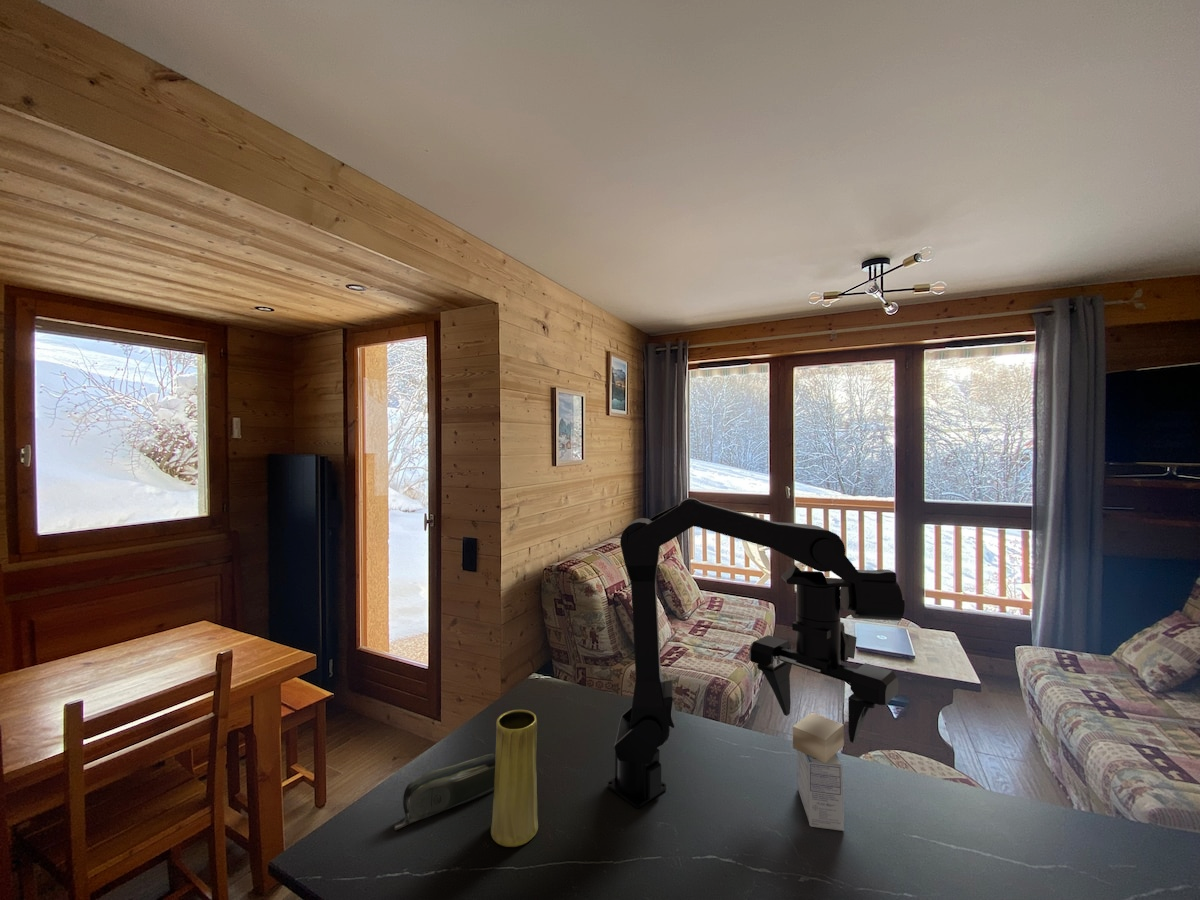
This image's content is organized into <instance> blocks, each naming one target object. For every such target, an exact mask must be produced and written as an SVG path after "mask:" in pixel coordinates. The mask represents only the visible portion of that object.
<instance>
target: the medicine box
mask: <svg viewBox="0 0 1200 900" xmlns="http://www.w3.org/2000/svg"><path fill="white" fill-rule="evenodd" d="M796 753H797V754H796V761H797V762H796V763H797V764H796V767H797V768H796V770H797V772H796V773H797V774H796V777H797V778H796V779H797V781H796V782H797V791H798V793H799V797H800V799H801V802H802V805H803V809H804V811H805V814H806V818H807V821H808V825H809V827H812V828H817V829H825V830H832V831H839V832H843V831H845V820H844V819H845V818H844V816H845V815H844V811H845V810H844V780H843V779H844V776H843V764H842V763H841V761H840V759H839V757H838V754H837V753H836V754H835V755H834V756H833V757H831V758H830V759H829V760H828V761H827V762H826V763H824V762H822V761H820V760H818V759H816V758H813V757H811V756H809V755H807V754H805V753H803V752H800V751H798V750H796Z"/></svg>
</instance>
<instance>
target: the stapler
mask: <svg viewBox="0 0 1200 900" xmlns="http://www.w3.org/2000/svg"><path fill="white" fill-rule="evenodd" d="M495 757H496V752H491V753H488V754H484V755H481V756H479V757H475V758H472V759H468V760H466V761H463V762H460V763H457V764H454V765H449V766H446V767H442V768H439V769H434V770H432V771H429V772H426V773H424V774H422V775H421V776H420V777H418V778H416V779H415V780H412V781H410V783H409V784H407V786H406V788H405V789H404V792H403V798H402V805H403V806H402V809H403V811H404V815H405V816H404V819H403V820H402V821H400V822H398V823H395V824H394V825H393V827H394V831H397V830H400V829H401V828H403V827H406V826H409V825H411V824H413V823H415V822H418V821H420V820H424V819H426V818H429V817H431V816H434V815H436V814H439V813H441V812H444V811H447V810H449V809H452V808H454V807H456V806H461V805H464V804H466V803H468V802H471V801H473V800H476V799H479V798H482V797H484V796H486V795H489V794H491V793H492V792H494V779H495Z"/></svg>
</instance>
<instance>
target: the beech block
mask: <svg viewBox="0 0 1200 900" xmlns="http://www.w3.org/2000/svg"><path fill="white" fill-rule="evenodd" d="M844 727H845V726H844V723H840V722H838V721H837V720H833V719H830V718H828V717H825V716H822V715H819V714H818V713H815V712H813V711H812V712H811V713H809V714H808V715H806V716H805V717H803V718H802V719H801V720H799V721H798V722H797V723H795V724H794V725H792V749H794V750H796V751H797V750H798V751H800V752H803V753H805V754H807V755H809V756H811V757H813V758H816V759H818V760H820V761H822V762H824V763H826V762H827V761H828V760H829V759H830V758H831V757H833V756H834V755H835V754H837V753H838V752H839V751H841V750H842V748H844V745H845V744H844V743H845V740H844V739H845V738H844V737H845V736H844V735H845V731H844V730H845V728H844Z"/></svg>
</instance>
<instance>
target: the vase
mask: <svg viewBox="0 0 1200 900" xmlns="http://www.w3.org/2000/svg"><path fill="white" fill-rule="evenodd" d="M537 723H538V721H537V715H536V714H535V713H534V712H532V711H531V710H526V709H512V710H508V711H506V712H504V713H502V714H500V715H499V716H498V717H497V719H496V723H495V726H496V727H495V729H496V730H495V731H496V732H495V753H496V757H495V779H494V791H493V801H492V816H491V817H492V818H491V827H490V835H491V838H492V839H493V841H494V842H495V843H496V844H498V845H499V846H502V847H506V848H516V847H520V846H523V845H526V844H527V843H528V842H530V841H531V840H533V838H534V837H535V836H536V834H537V833H538V829H539V822H538V794H537V793H538V791H537V787H538V786H537V737H538V734H537V733H538V724H537Z"/></svg>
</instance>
